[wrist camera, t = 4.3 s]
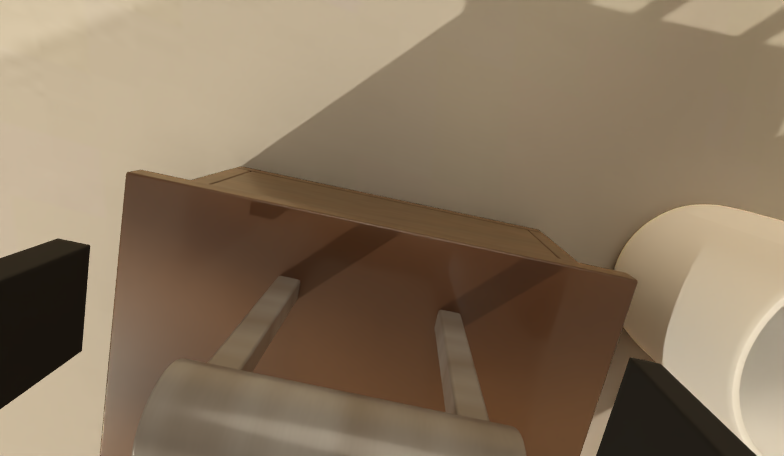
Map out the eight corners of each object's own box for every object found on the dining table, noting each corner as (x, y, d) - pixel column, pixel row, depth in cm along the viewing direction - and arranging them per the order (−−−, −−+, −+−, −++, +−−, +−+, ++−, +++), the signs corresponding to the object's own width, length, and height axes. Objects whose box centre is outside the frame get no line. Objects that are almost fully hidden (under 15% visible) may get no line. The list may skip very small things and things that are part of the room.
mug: (721, 424, 27) (903, 601, 17) (573, 402, 27) (669, 566, 17) (791, 214, 25) (1052, 278, 15) (628, 188, 25) (779, 235, 15)
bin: (240, 165, 25) (138, 193, 16) (539, 229, 25) (619, 295, 16) (202, 432, 29) (98, 590, 19) (467, 486, 29) (497, 669, 19)
